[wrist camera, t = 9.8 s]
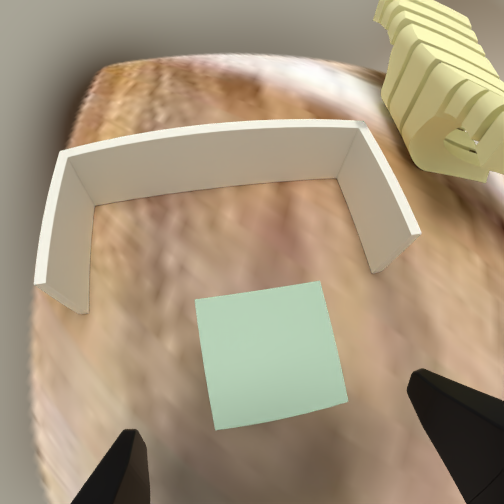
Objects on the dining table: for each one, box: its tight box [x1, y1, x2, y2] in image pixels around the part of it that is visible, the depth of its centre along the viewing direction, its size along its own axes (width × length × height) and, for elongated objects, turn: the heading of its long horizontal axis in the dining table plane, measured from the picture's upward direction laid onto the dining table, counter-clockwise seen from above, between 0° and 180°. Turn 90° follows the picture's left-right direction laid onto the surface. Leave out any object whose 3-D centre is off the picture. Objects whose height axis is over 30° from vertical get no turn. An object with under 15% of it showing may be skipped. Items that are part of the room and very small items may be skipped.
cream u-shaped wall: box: [34, 119, 422, 314], centre depth 23 cm, size 12×26×7 cm, turn 100°
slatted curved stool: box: [373, 0, 504, 183], centre depth 27 cm, size 30×16×18 cm, turn 2°
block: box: [195, 281, 348, 430], centre depth 15 cm, size 4×4×12 cm
